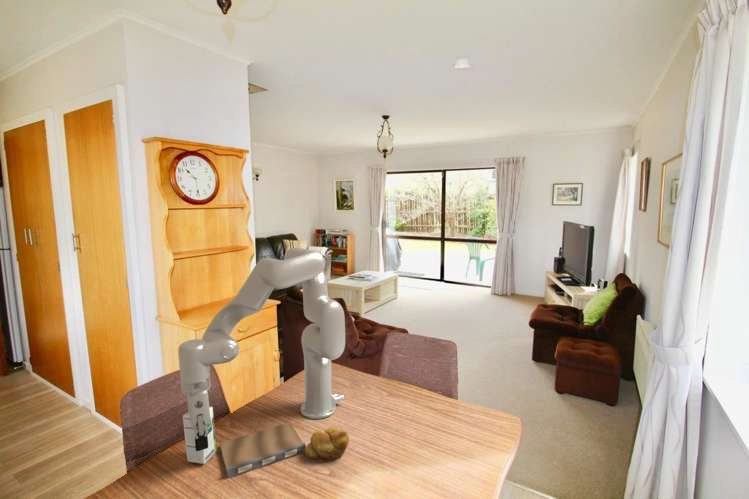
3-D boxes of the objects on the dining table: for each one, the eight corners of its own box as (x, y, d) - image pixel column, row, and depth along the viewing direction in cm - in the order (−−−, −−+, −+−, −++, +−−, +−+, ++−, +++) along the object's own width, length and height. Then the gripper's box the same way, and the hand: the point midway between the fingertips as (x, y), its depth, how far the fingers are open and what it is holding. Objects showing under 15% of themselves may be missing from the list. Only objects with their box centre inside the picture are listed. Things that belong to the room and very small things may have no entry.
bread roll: (305, 466, 107) (304, 440, 106) (304, 445, 116) (304, 420, 115) (349, 460, 109) (349, 435, 108) (345, 440, 119) (345, 416, 118)
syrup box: (204, 464, 106) (200, 417, 104) (186, 461, 108) (182, 414, 105) (216, 451, 112) (213, 405, 110) (199, 448, 113) (195, 403, 111)
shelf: (290, 426, 126) (290, 419, 125) (305, 452, 113) (305, 445, 112) (219, 447, 115) (219, 439, 115) (228, 478, 102) (227, 470, 101)
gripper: (214, 394, 101) (218, 454, 103) (206, 368, 116) (210, 421, 118) (183, 401, 97) (188, 463, 100) (179, 374, 112) (184, 429, 115)
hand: (200, 440), depth 109 cm, fingers closed on syrup box, 7 cm apart
